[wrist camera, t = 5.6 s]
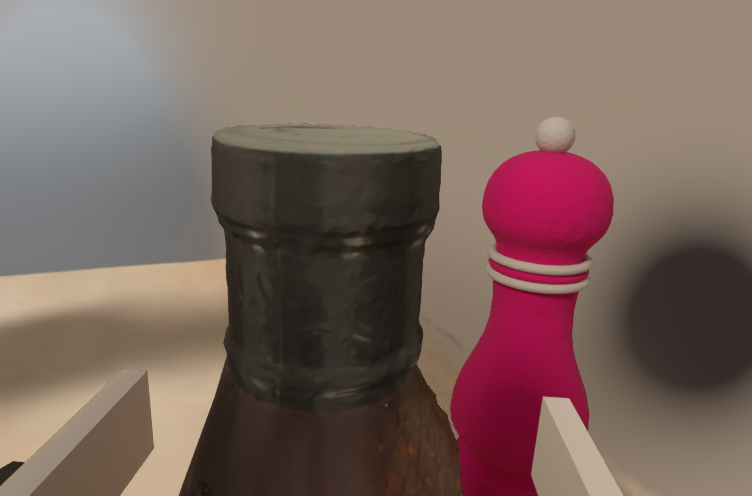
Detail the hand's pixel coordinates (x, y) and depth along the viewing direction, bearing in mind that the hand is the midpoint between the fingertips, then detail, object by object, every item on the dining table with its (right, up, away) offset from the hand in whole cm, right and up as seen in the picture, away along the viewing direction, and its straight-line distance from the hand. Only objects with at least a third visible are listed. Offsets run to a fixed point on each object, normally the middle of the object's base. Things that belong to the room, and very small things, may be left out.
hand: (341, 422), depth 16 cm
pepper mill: (+9, -8, +14) cm, 18 cm away
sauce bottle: (-1, -12, -1) cm, 12 cm away
